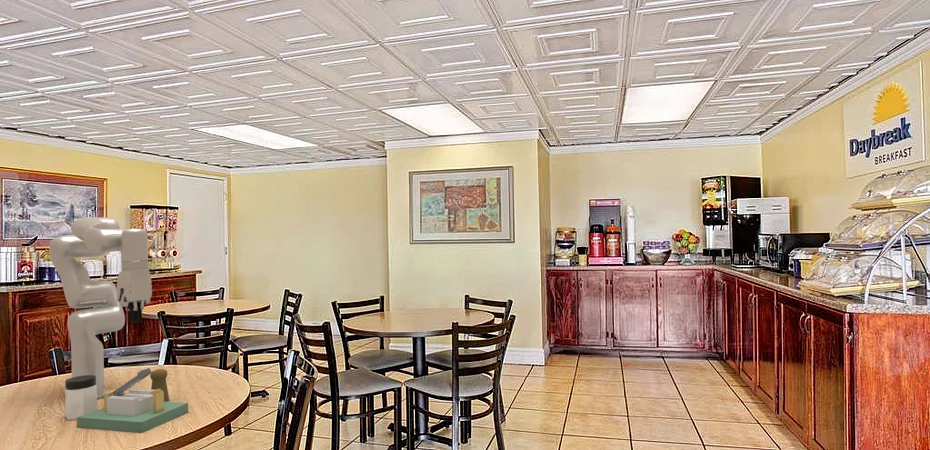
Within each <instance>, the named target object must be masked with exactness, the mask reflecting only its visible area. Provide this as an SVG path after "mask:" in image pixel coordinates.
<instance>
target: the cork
mask: <svg viewBox="0 0 930 450" xmlns="http://www.w3.org/2000/svg"><path fill="white" fill-rule="evenodd" d="M151 372H152V373H151V374H150V375H149V378H150V379H151V388H150V389H151V390H156V389H161V391H164V402H170V396H169V389H168V385H167V377H168V370H166V369H165V368H159V369H158V368H157V369H154V370H151Z"/></svg>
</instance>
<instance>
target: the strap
mask: <svg viewBox="0 0 930 450" xmlns="http://www.w3.org/2000/svg"><path fill="white" fill-rule="evenodd" d="M151 373H152V369H151V368H150V367H147V368H144V369H141V370H140V371H138V372H137V373H136V375H135V376H134V377H133V378H131V379H129V381H127V382H126V383H123V385H121V386H120V387H118V388H115V389H116V390H115V389H114V390H115V391H113V394H114V395H117V394H120V393H123V392H124V393H125V391H127V390H128V389H129V390H130V388H132V387H134V386H135V385H136V384H138V383H139V382H140V381H143V380H144V379H145V378H146V377H148V376H150V374H151Z"/></svg>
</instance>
